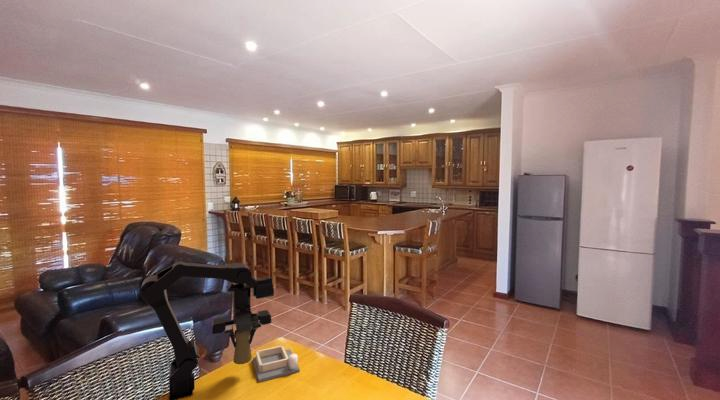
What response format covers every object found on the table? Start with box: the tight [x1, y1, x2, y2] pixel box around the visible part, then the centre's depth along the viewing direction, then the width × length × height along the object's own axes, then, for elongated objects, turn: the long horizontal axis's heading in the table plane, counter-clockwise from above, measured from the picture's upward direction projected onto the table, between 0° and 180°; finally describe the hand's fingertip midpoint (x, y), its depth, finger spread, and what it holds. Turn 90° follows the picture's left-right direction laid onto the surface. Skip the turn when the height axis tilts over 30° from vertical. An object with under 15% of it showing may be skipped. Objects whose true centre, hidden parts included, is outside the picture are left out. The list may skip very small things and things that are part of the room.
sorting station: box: [252, 345, 301, 383], centre depth 117 cm, size 14×14×5 cm
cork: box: [232, 329, 253, 365], centre depth 110 cm, size 6×6×11 cm
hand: (242, 345), depth 110 cm, fingers closed on cork, 5 cm apart
